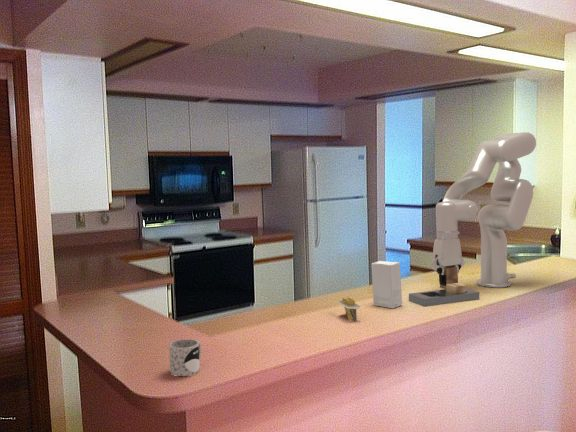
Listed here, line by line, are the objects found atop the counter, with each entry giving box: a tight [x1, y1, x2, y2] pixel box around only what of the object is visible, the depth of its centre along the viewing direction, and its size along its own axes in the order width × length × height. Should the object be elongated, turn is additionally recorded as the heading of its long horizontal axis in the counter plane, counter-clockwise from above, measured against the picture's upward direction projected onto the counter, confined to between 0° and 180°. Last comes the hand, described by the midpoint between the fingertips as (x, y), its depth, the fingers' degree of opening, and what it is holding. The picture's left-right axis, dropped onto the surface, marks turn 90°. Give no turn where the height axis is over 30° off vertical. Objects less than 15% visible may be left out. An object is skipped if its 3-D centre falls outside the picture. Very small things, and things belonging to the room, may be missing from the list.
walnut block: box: [439, 266, 459, 290], centre depth 196 cm, size 5×5×8 cm
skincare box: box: [371, 260, 403, 309], centre depth 178 cm, size 8×6×15 cm
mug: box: [168, 338, 202, 377], centre depth 123 cm, size 10×7×7 cm, turn 158°
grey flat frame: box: [408, 287, 480, 307], centre depth 185 cm, size 23×9×2 cm, turn 111°
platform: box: [338, 296, 361, 322], centre depth 164 cm, size 12×18×7 cm, turn 17°
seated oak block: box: [446, 282, 466, 294], centre depth 186 cm, size 5×5×5 cm
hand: (448, 283), depth 196 cm, fingers closed on walnut block, 4 cm apart
